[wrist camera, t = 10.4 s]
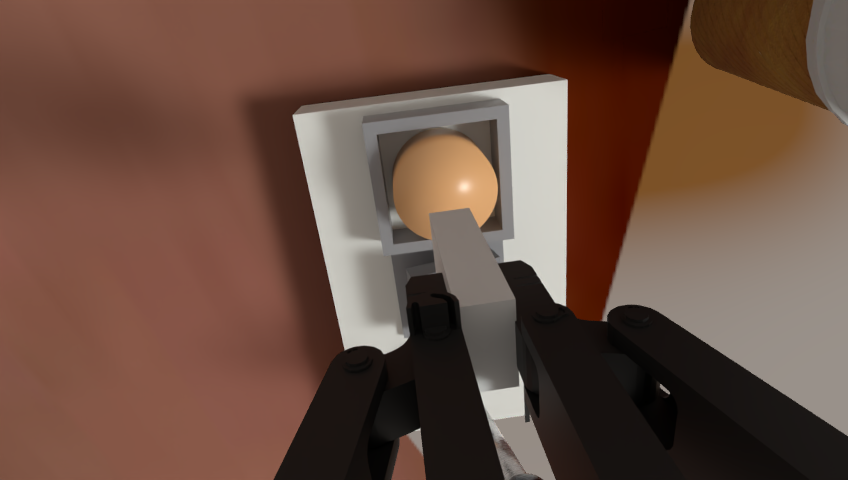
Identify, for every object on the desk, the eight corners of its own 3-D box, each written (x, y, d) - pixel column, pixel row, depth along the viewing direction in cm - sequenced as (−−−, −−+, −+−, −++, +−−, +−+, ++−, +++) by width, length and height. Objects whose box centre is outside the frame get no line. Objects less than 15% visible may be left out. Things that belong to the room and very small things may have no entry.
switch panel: (365, 406, 36) (362, 467, 31) (301, 105, 27) (283, 124, 22) (551, 380, 37) (577, 436, 32) (549, 74, 27) (585, 85, 23)
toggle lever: (441, 406, 32) (517, 557, 23) (436, 372, 31) (515, 516, 21) (477, 394, 32) (567, 536, 23) (474, 361, 31) (567, 496, 22)
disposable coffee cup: (808, 91, 29) (1065, 133, 18) (651, 107, 29) (815, 159, 18) (853, -100, 25) (1214, -195, 14) (672, -84, 25) (897, -167, 14)
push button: (399, 224, 27) (400, 247, 24) (385, 134, 25) (386, 148, 22) (488, 212, 27) (500, 234, 24) (482, 122, 25) (494, 134, 22)
